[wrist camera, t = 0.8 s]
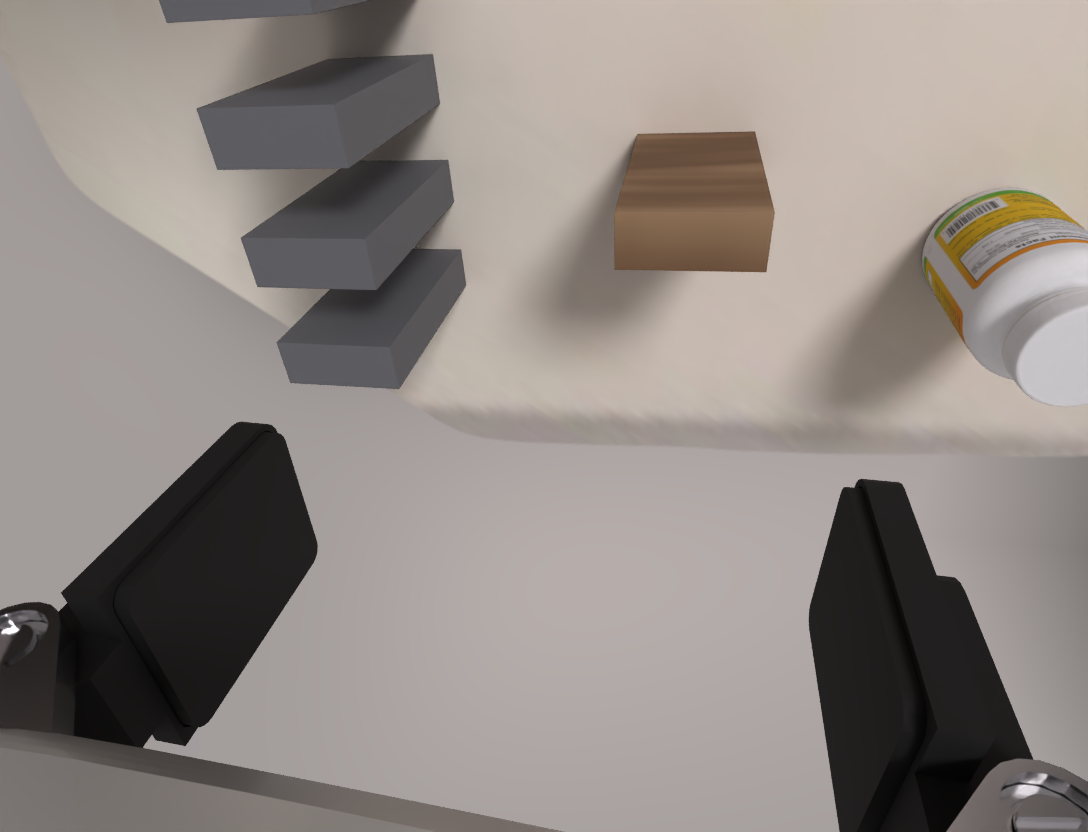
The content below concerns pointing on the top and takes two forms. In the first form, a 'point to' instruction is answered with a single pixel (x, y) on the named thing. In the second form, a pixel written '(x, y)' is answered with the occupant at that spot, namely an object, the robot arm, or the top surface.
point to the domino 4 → (375, 325)
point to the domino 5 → (694, 204)
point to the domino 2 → (320, 113)
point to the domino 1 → (244, 8)
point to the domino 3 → (350, 226)
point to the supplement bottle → (1016, 290)
